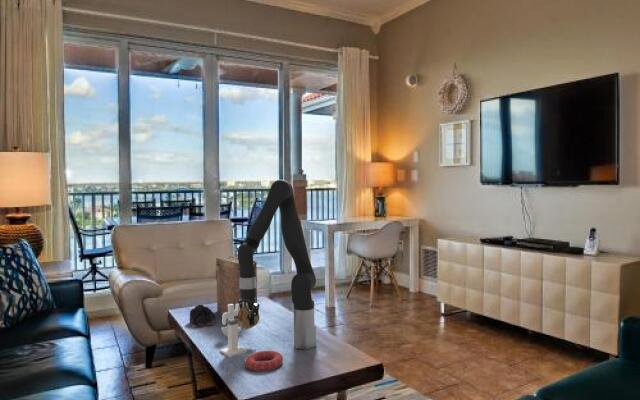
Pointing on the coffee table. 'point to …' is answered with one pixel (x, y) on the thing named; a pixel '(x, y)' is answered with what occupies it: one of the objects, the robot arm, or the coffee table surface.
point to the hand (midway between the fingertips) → (249, 323)
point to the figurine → (230, 317)
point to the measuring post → (232, 340)
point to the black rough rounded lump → (201, 316)
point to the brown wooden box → (229, 283)
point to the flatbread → (243, 318)
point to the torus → (273, 362)
